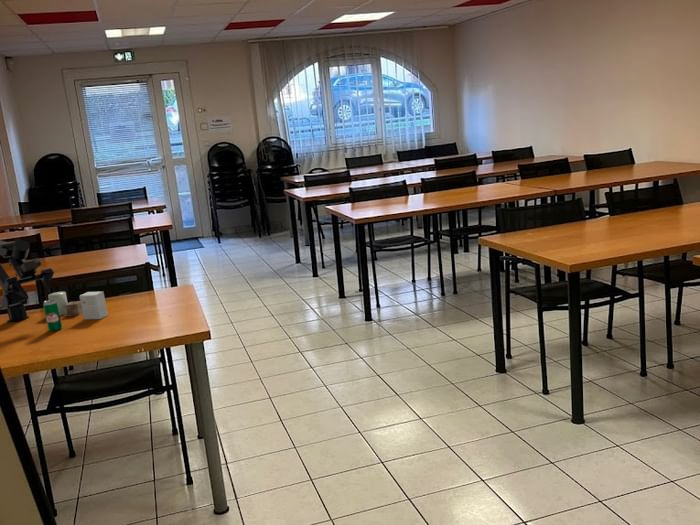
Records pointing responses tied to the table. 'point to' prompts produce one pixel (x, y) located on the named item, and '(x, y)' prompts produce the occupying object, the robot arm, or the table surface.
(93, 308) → the small box
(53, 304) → the soda can
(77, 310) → the walnut block
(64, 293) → the sage mug
